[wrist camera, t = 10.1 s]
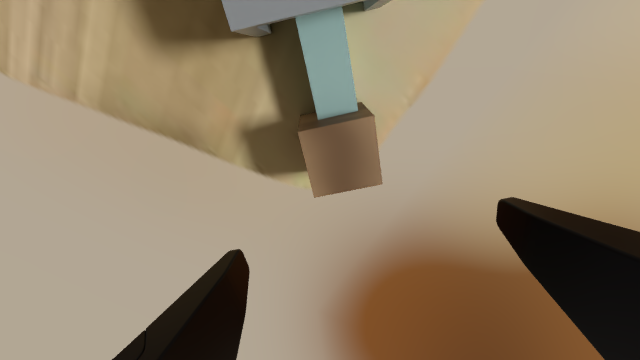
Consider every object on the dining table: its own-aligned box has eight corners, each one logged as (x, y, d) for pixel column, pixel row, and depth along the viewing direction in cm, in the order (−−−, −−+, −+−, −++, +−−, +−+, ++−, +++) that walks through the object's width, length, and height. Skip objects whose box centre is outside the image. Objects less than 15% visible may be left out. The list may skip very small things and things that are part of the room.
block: (361, 101, 19) (374, 115, 15) (368, 158, 21) (382, 184, 17) (300, 115, 20) (297, 132, 15) (313, 169, 21) (314, 197, 17)
